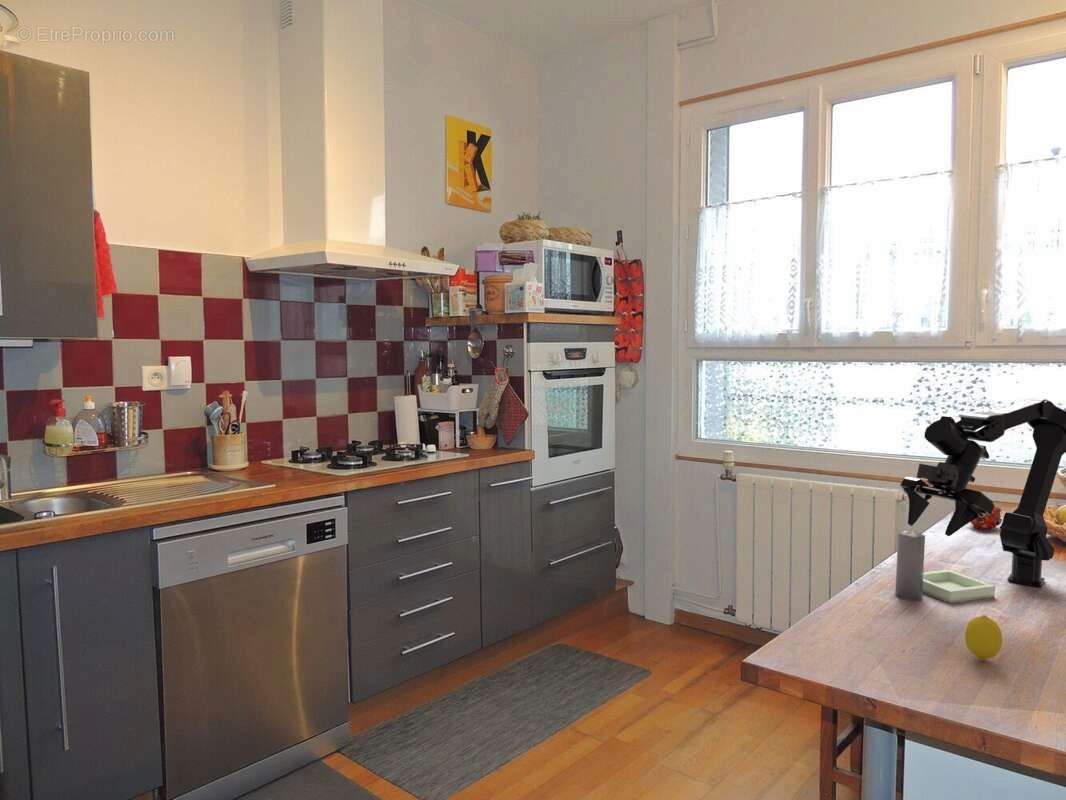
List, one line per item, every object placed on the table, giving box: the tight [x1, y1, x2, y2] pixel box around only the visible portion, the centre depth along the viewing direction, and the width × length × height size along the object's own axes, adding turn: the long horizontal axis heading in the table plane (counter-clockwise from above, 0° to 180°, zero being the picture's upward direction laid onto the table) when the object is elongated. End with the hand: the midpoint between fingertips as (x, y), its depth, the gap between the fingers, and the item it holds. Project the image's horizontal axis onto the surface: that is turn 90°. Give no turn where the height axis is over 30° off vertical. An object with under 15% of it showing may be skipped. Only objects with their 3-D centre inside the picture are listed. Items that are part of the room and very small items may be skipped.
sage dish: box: [923, 569, 996, 604], centre depth 165 cm, size 12×12×2 cm
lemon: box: [964, 614, 1003, 662], centre depth 129 cm, size 6×6×8 cm
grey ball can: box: [895, 530, 926, 601], centre depth 161 cm, size 5×5×14 cm
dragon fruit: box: [970, 503, 1003, 531], centre depth 220 cm, size 8×8×12 cm
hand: (927, 529), depth 159 cm, fingers open, 9 cm apart
